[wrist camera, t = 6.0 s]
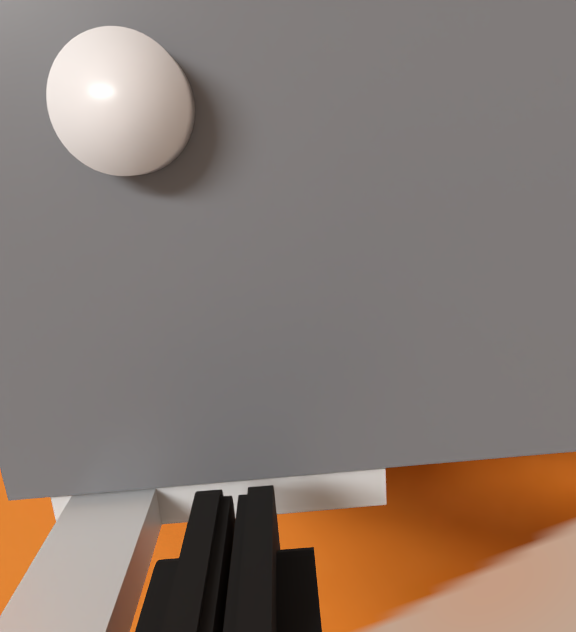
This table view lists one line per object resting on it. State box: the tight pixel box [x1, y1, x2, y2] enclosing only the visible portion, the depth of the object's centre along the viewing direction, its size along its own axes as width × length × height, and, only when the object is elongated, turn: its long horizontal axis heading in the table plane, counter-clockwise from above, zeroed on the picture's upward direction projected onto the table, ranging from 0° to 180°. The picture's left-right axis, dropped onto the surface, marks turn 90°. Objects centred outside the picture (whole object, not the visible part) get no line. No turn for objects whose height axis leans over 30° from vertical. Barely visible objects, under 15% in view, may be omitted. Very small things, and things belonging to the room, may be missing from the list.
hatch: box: [0, 468, 387, 632], centre depth 14 cm, size 8×1×12 cm, turn 94°
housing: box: [0, 0, 576, 500], centre depth 15 cm, size 22×13×10 cm, turn 95°
